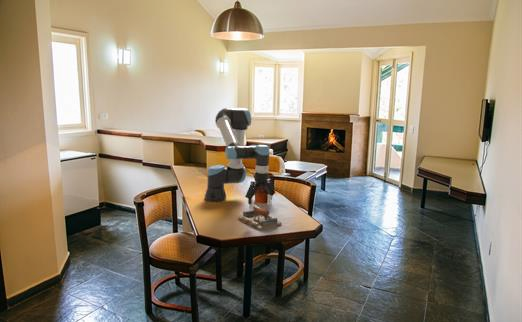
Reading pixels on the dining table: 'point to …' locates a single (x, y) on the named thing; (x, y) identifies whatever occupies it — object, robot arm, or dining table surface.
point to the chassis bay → (259, 220)
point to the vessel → (262, 192)
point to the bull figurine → (260, 212)
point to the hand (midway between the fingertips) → (260, 207)
